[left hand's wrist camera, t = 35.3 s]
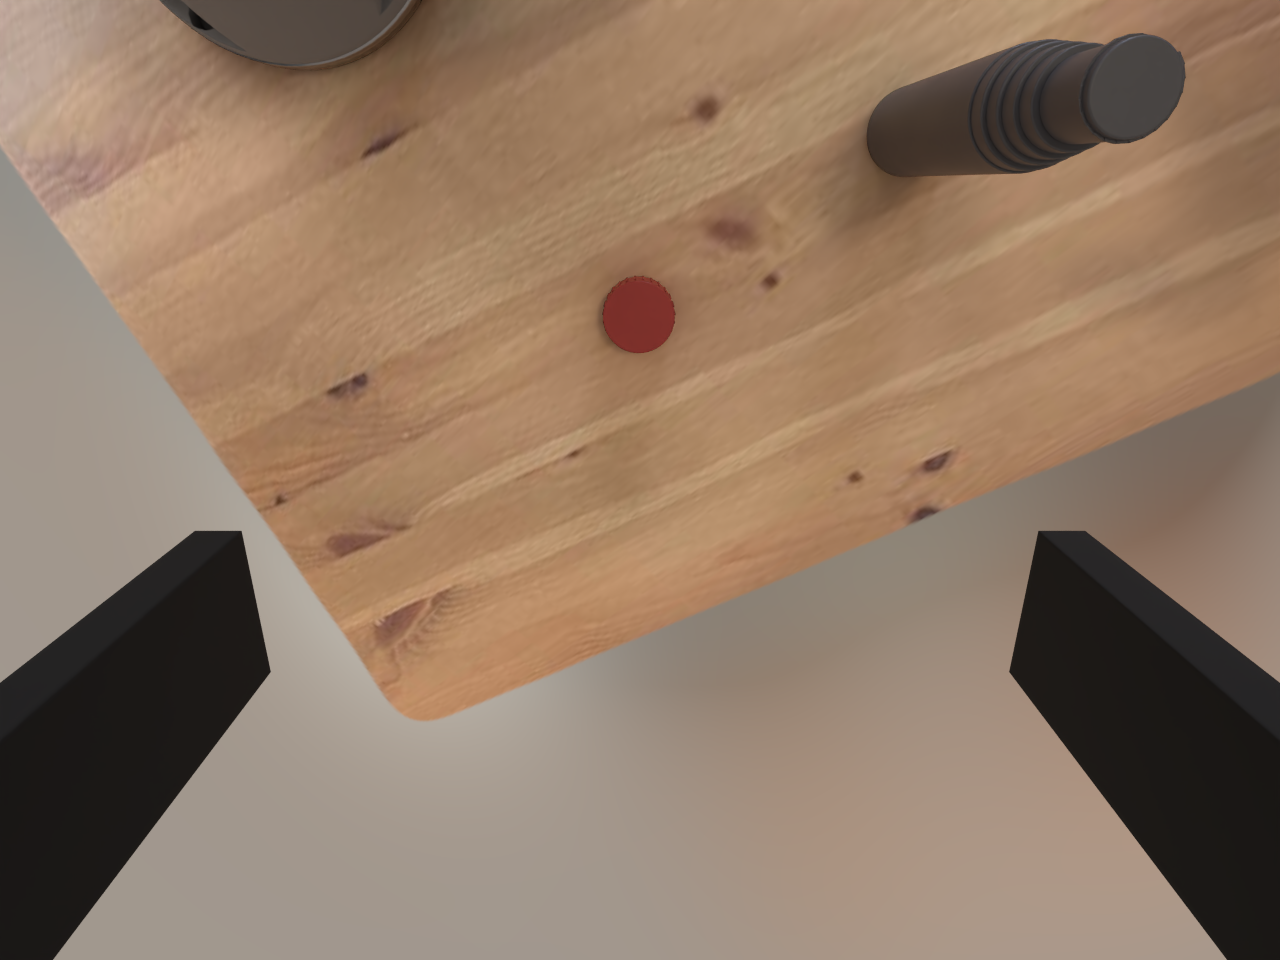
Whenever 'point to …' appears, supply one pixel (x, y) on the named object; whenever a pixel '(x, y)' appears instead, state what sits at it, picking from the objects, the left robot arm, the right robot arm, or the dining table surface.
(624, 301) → the cap
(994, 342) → the dining table surface
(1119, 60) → the bottle
